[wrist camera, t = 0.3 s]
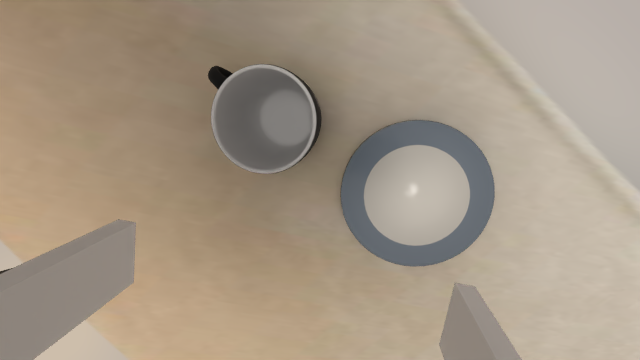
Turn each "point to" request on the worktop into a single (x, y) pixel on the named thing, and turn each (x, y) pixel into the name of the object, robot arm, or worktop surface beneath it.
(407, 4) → the worktop surface
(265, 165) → the mug
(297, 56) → the worktop surface
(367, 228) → the saucer
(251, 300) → the worktop surface
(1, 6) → the worktop surface
